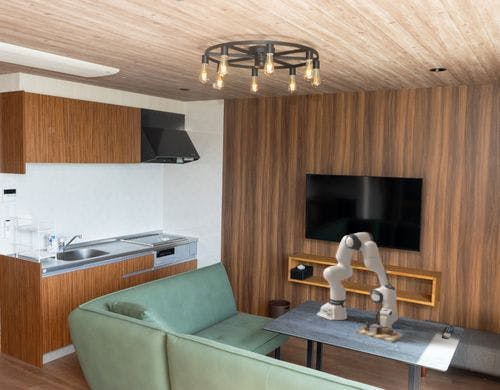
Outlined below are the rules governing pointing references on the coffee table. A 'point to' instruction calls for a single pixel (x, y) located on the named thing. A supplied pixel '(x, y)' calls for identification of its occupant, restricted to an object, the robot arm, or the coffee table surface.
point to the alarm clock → (378, 317)
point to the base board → (381, 335)
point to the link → (379, 329)
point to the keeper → (374, 328)
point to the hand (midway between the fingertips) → (389, 330)
